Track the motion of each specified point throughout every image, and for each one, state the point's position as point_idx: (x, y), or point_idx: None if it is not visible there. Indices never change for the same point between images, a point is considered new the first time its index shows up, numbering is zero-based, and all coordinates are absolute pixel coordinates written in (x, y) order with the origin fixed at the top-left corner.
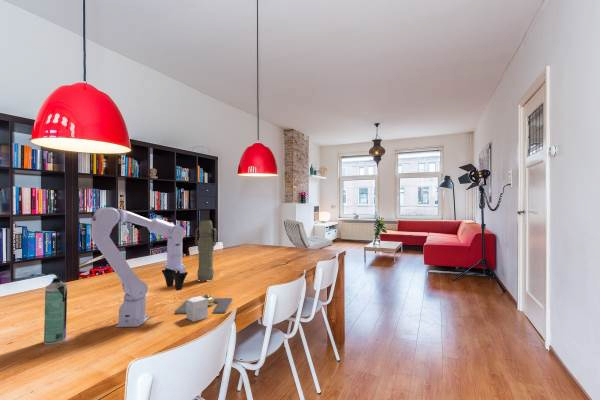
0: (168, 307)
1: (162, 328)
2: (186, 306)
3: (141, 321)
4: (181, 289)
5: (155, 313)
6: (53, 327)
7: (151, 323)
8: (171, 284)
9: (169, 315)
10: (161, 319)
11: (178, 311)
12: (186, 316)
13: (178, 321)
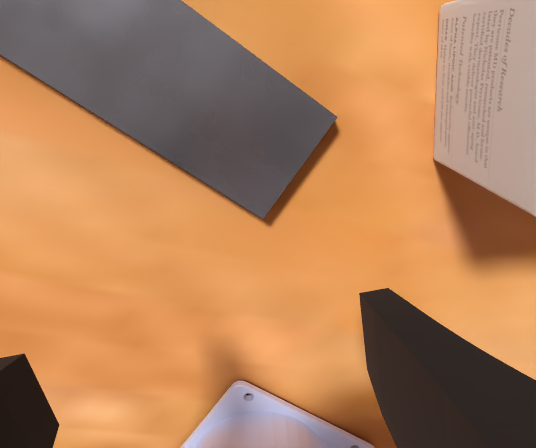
0: (31, 212)
1: (506, 347)
2: (493, 190)
3: (317, 435)
4: (394, 292)
5: (156, 330)
6: None
7: (364, 382)
8: (15, 405)
9: (276, 256)
10: (329, 321)
11: (281, 191)
12: (442, 162)
13: (464, 234)
